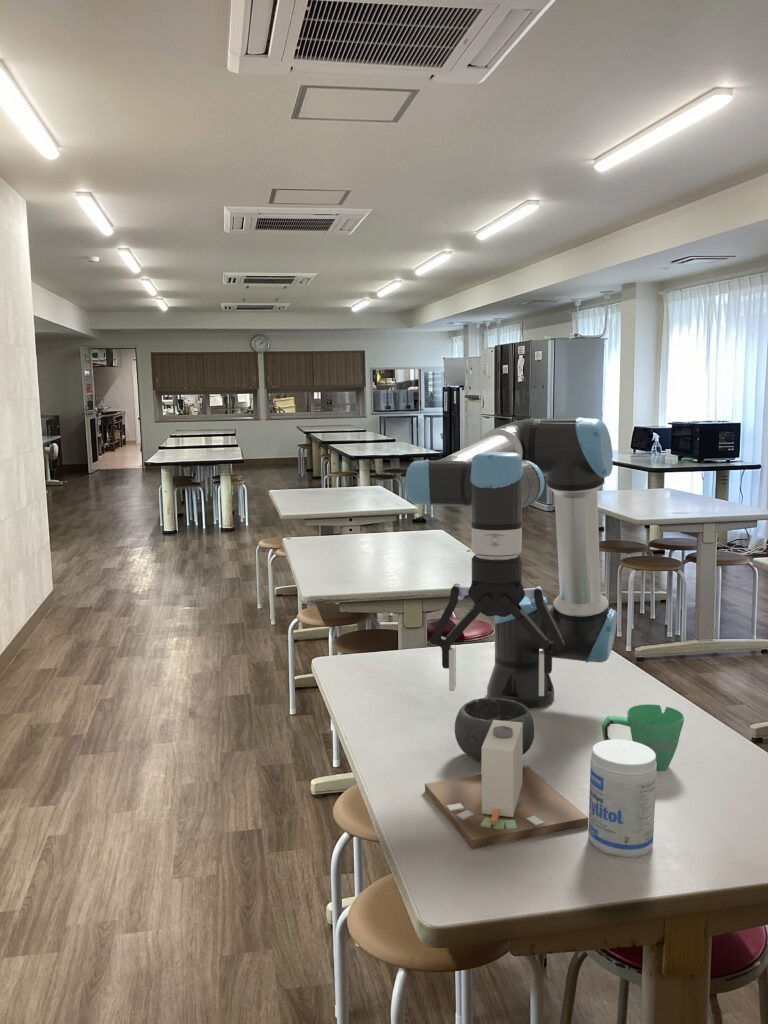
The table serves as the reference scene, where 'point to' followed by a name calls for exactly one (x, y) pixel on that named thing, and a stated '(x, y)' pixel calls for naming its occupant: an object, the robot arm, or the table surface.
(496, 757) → the white block with knob
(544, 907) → the table surface
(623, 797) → the supplement tub
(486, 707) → the bowl
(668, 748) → the mug
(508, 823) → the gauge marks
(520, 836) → the board
